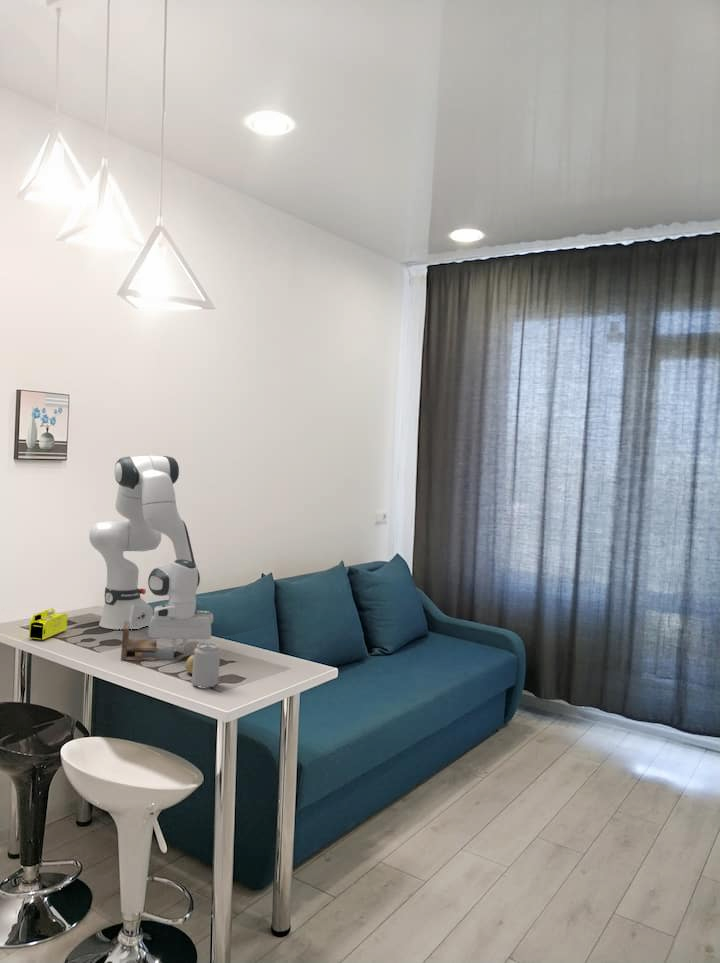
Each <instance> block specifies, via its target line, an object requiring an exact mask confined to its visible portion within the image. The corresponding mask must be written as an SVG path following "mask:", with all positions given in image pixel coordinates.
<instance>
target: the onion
mask: <svg viewBox="0 0 720 963" xmlns="http://www.w3.org/2000/svg"><path fill="white" fill-rule="evenodd" d="M193 660H194V650H192V654H191V655H190V656H189V657H188V658H187V659H186V662H185V670H186V671H187V673H188V674H191V675H192V672H193Z"/></svg>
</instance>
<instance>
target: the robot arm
mask: <svg viewBox="0 0 720 963" xmlns="http://www.w3.org/2000/svg"><path fill="white" fill-rule="evenodd" d="M113 471H114V472H113V473H114V477H115V481H116V483H117V484H118V486H117V487H118V488H117V495H116V500H115V509H116V512H117V513H118V514H119V515H120V516H122V517H123V518H125V519H127V520H128V521H116V520H115V521H114V520H107V521H101V522H96V523H95V524H93V526H92V527H90V528H91V529H90V531H89V538H88V539H89V542H90V545H91V546H92V547H93V548H94V550H97V552H99V553H100V555H101V557H103V559H104V561H105V565H106V586H105V588H104V605H103V608H102V609H103V610H102V614H101V618H100V621H99V624H98V626H99V627H101V628H104V629H110V630H119V629H120V630H122V629H123V628H124V624H125V621H130V627H129V629H131V630H130V631H133V630H132V629H138V630H140V629H139V628H142V627H145V626H148V631H147V636H148V637H149V639H169V640H170V639H171V640H170V642H171V644H172V646H173V648H174V653H184V648H185V646H186V645H187V643H188V640H209V639H210V638H211V637H212V624H213V622H214V614H213V613H212V611H211V612H210V611H209V610H198V609H197V608H196V606H197V599H196V598H197V597H196V593H197V589H198V587H199V586H200V581H201V576H200V572H199V569H198V567H197V565H196V561H195V557H194V553H193V549H192V544H191V540H190V536H189V531H188V528H187V525H186V523H185V521H184V520H183V519H182V518H181V516H180V514H179V511H178V507H177V501H176V500H177V498H176V494H175V488H174V484H175V483H176V482H177V481H178V479H179V475H180V467H179V464H178V462H177V460H176V458H174V457H171V456H168V455H163V456H160V455H151V454H150V455H148V454H147V455H137V456H124V457H121V458H119V459H118V460H117V461H116V463H115V466H114V470H113ZM162 534H163V535H165V536H166V537H168V538H169V539H170V541H171V542H172V545H173V549H174V552H175V558H176V559H175V560H174V561H173V562H172V563H169V564H167V565H164V566H160V567H156V568H154V569H152V570H151V572H150V573H149V575H148V578H147V579H148V580H147V582H148V583H147V585H148V589H149V590H150V592H151V593H152V594H153V595H155V596H159V597H165V596H167V597H168V602H167V603H164V604H160V605H156V606H155V607H154V609H153V608H152V606H151V605H149V603H147V602H146V601H145V600H144V599H143V598H142V597H141V594H142V595H145V594H146V593H147V590H146V589H145V588H142V587H141V588H138V586H139V572H140V570H139V567H138V565H137V564H136V563H135V562H133V561H131V560H129V559H127V558H125V556H124V552H147V551H148V552H149V551H153V550H156V549H157V548H158V547H159V545H160V544H161V541H162ZM196 609H197V610H196ZM145 628H146V627H145ZM142 629H143V628H142ZM122 631H123V630H122ZM177 640H182V644H181V645H177V644H176V642H177Z"/></svg>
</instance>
